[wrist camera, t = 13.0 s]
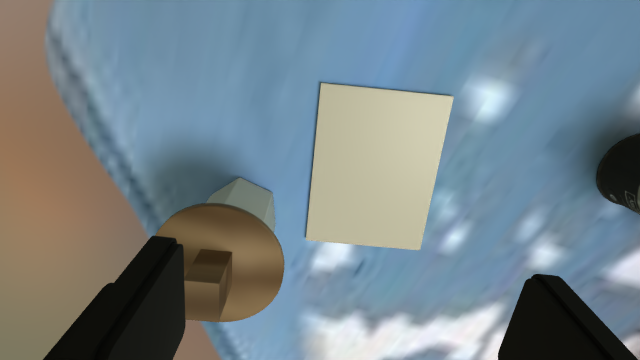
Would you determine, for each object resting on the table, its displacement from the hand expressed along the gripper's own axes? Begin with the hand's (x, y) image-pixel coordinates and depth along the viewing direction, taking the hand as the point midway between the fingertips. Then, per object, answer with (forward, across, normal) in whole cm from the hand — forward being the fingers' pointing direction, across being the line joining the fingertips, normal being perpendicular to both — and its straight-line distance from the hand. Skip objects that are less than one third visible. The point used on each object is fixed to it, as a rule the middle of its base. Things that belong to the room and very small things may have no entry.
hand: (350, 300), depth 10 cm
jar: (+36, +9, +16) cm, 40 cm away
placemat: (+36, -7, +9) cm, 37 cm away
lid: (+24, +9, +16) cm, 30 cm away
